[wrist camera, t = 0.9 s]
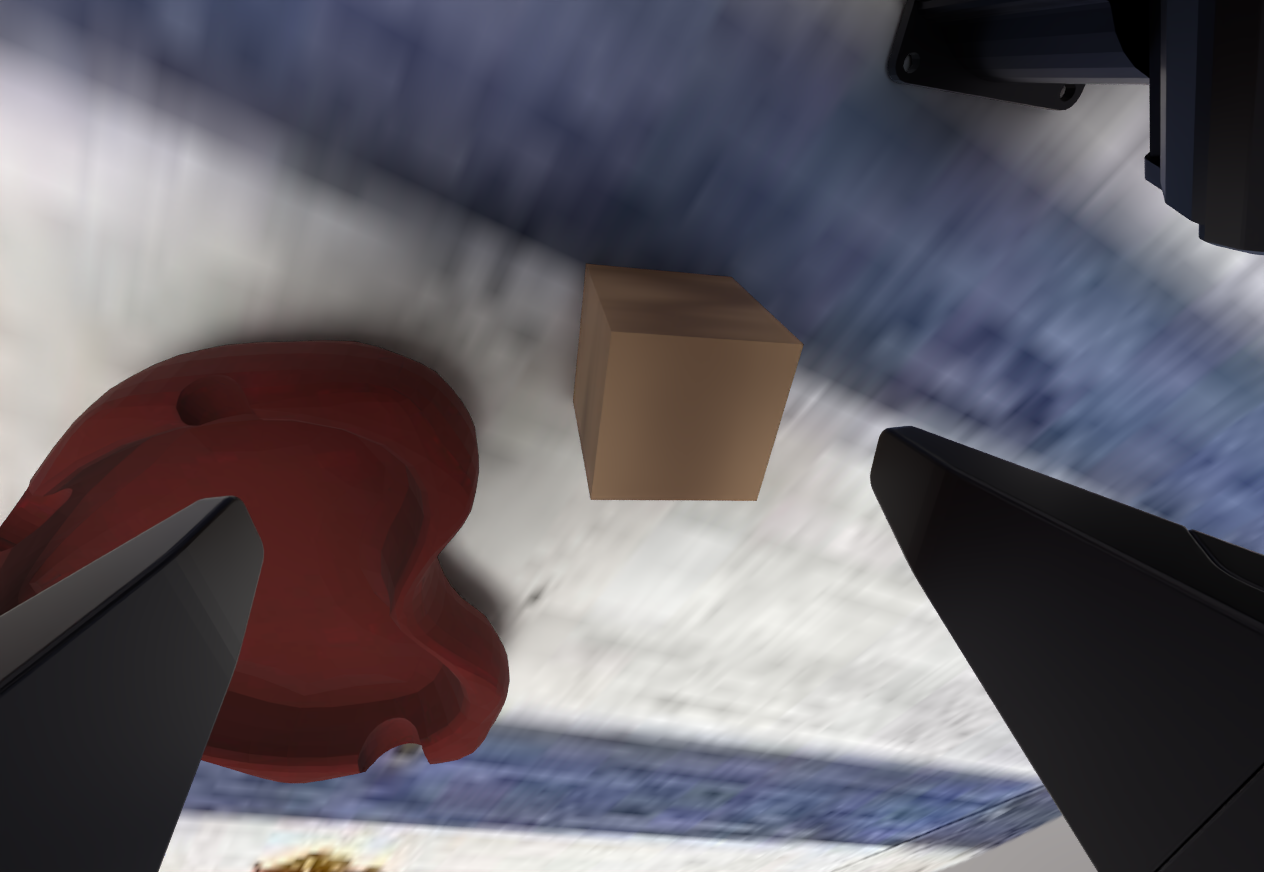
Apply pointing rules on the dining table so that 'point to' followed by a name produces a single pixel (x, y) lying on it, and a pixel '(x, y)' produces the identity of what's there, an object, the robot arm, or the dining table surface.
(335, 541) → the ashtray
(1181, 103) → the robot arm
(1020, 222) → the dining table surface
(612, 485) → the walnut block
